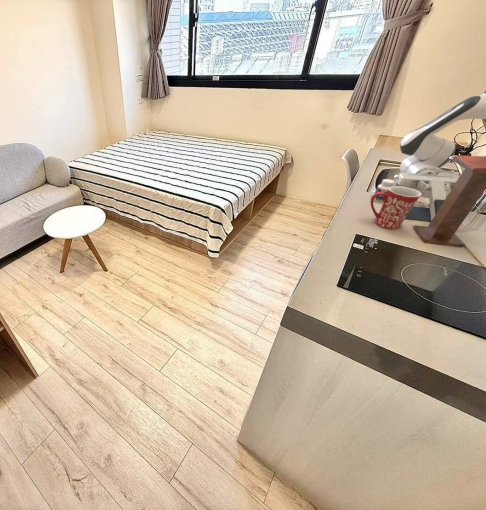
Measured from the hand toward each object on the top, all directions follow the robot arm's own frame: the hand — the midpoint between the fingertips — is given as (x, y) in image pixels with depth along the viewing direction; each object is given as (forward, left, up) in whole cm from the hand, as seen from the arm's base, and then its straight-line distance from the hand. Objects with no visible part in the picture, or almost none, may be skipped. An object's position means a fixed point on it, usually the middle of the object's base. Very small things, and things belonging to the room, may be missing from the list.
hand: (437, 189), depth 105 cm
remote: (0, +4, -4) cm, 5 cm away
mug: (+18, +16, -9) cm, 26 cm away
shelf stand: (+4, +22, -9) cm, 24 cm away
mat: (+4, +4, -9) cm, 11 cm away
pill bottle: (+14, -6, -9) cm, 18 cm away
